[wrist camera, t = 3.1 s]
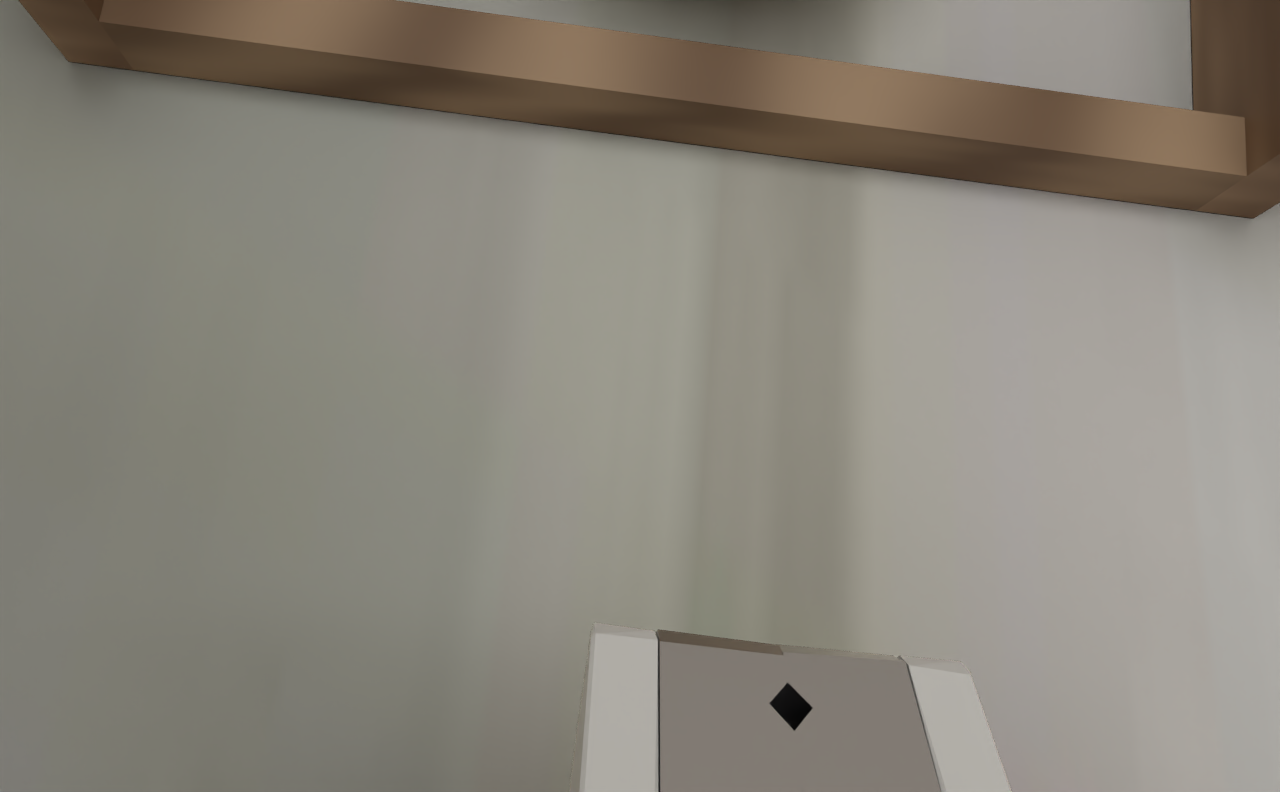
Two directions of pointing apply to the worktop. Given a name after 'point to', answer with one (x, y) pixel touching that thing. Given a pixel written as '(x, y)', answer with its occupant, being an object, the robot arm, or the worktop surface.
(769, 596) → the worktop surface
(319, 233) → the worktop surface
